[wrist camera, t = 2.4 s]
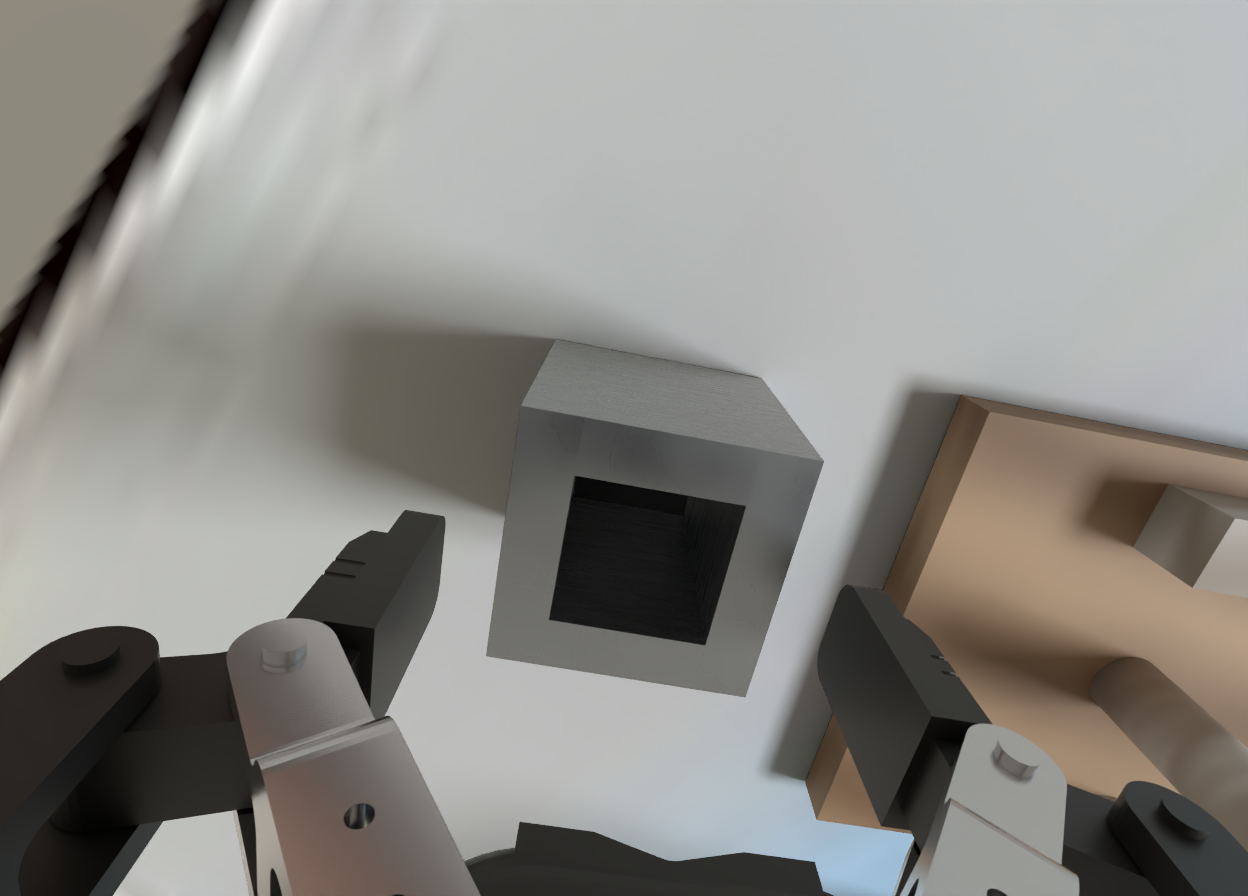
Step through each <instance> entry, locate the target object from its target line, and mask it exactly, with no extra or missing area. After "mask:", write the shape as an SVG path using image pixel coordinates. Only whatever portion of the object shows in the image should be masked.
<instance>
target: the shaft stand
mask: <svg viewBox="0 0 1248 896" xmlns="http://www.w3.org/2000/svg"><path fill="white" fill-rule="evenodd" d="M883 591H885V592H887V593H888V594H889V596H890V597H891V599H892V600H893V602H894V603H895V605H896V606H897V607H898V609H899V610H900V612H901V613H902V615H903V616H904V618H905V619H909V620H910V621H911V622H912V623H914V624H915V625H916V626H917V627H918V628H920V629H921V630H922V631H923V632H924V633H926V634H927V635H928V636H929V637H930V638H931V639H932V640H933V642H934V643H935V644H936V646H937V647H938V649H939V650H940V651H941V653H942V654H943V656H944V660H946V661H948V662H949V664H950V665H951V667H952V668H953V669H954V671H955V672H956V676H957V677H959V678H960V679H961V681H962V682H963V683H964V685H965V686H966V688H967V689H968V690H969V692H970V693H971V695H972V696H973V697H974V699H975V700H976V702H977V703H978V704H979V706H980V707H981V709H982V710H983V711H984V713H985V714H986V716H987V717H988V718H989V720H990V721H991V722H992V724H993V725H997V726H1000V727H1003V728H1006V729H1009V730H1011V731H1013V732H1015V733H1017V734H1019V735H1021V736H1023V737H1025V738H1026V739H1028V740H1030V741H1031V742H1032V743H1034V744H1035V745H1037V746H1038V747H1039V748H1041V749H1042V750H1043V751H1044V752H1045V753H1046V754H1048V755H1049V756H1050V757H1051V758H1052V759H1053V761H1054V762H1055V763H1056V764H1057V765H1058V767H1059V768H1060V769H1061V771H1062V773H1063V774H1064V776H1065V779H1066V782H1067V784H1069V785H1072V786H1074V787H1077V788H1079V789H1082V790H1085V791H1087V792H1090V793H1093V794H1095V795H1098V796H1100V797H1103V798H1106V799H1108V800H1111V801H1113V802H1115V801H1116V800H1117V798H1118V796H1119V795H1120V793H1121V792H1122V790H1123V788H1124V787H1125V785H1126V784H1128V783H1129V782H1132V781H1146V782H1150V783H1154V784H1157V785H1160V786H1163V787H1165V788H1168V789H1170V790H1172V791H1174V792H1176V793H1178V794H1180V795H1182V796H1184V797H1185V798H1187V799H1189V800H1190V801H1192V802H1194V803H1195V804H1196V805H1198V806H1199V807H1201V808H1202V809H1204V810H1205V811H1206V812H1208V813H1209V814H1210V815H1211V816H1213V817H1214V818H1215V819H1216V820H1217V821H1218V822H1220V823H1221V824H1222V825H1223V826H1224V827H1225V828H1226V829H1227V830H1228V831H1229V832H1230V833H1231V835H1232V836H1233V837H1234V838H1235V839H1236V840H1237V841H1238V842H1239V843H1240V844H1241V845H1242V847H1243V848H1244V849H1245V850H1246V851H1247V852H1248V450H1243V449H1238V448H1233V447H1228V446H1222V445H1217V444H1212V443H1207V442H1202V441H1197V440H1191V439H1186V438H1181V437H1176V436H1171V435H1166V434H1160V433H1155V432H1150V431H1145V430H1140V429H1134V428H1129V427H1124V426H1119V425H1114V424H1109V423H1103V422H1098V421H1093V420H1088V419H1083V418H1077V417H1072V416H1067V415H1062V414H1057V413H1052V412H1046V411H1041V410H1036V409H1031V408H1026V407H1020V406H1015V405H1010V404H1005V403H1000V402H995V401H989V400H984V399H979V398H974V397H969V396H964V395H961V397H960V400H959V402H958V405H957V407H956V410H955V412H954V415H953V417H952V420H951V422H950V425H949V427H948V430H947V432H946V435H945V437H944V440H943V442H942V444H941V447H940V449H939V452H938V454H937V457H936V459H935V462H934V464H933V467H932V469H931V472H930V474H929V477H928V479H927V482H926V484H925V487H924V489H923V492H922V494H921V497H920V499H919V502H918V504H917V507H916V509H915V511H914V514H913V516H912V519H911V521H910V524H909V526H908V529H907V531H906V534H905V536H904V539H903V541H902V544H901V546H900V549H899V551H898V554H897V556H896V559H895V561H894V564H893V566H892V569H891V571H890V574H889V576H888V578H887V581H886V583H885V586H884V588H883ZM805 783H806V786H807V789H808V793H809V796H810V799H811V803H812V806H813V809H814V813H815V816H816V819H817V820H822V821H828V822H835V823H842V824H849V825H855V826H862V827H869V828H876V829H882V830H889V831H896V832H903V833H910V834H912V832H911V830H903V829H896V828H889V827H882V826H881V825H880V823H879V820H878V818H877V816H876V813H875V811H874V808H873V806H872V804H871V801H870V799H869V796H868V794H867V792H866V789H865V787H864V784H863V782H862V780H861V777H860V775H859V772H858V770H857V768H856V765H855V763H854V760H853V758H852V756H851V753H850V751H849V748H848V746H847V744H846V741H845V739H844V736H843V734H842V732H841V729H840V727H839V724H838V722H837V720H836V717H835V715H834V712H833V715H832V717H831V720H830V722H829V725H828V727H827V730H826V732H825V735H824V737H823V740H822V742H821V745H820V747H819V750H818V752H817V755H816V757H815V760H814V762H813V765H812V767H811V770H810V772H809V775H808V777H807V779H806V782H805Z"/></svg>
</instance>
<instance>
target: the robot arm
mask: <svg viewBox="0 0 1248 896" xmlns="http://www.w3.org/2000/svg"><path fill="white" fill-rule="evenodd" d="M444 534H445V518H444V516H439V515H433V514H427V513H421V512H415V511H409V510H405V511H404V512H403V513H402V514H401V516H400V517H399V518H398V520H397V521H396V522H395V524H394V525H393V526H392V528H391V529H390V531H389V532H388V533H385V532H378V531H372V530H371V531H369V532H367V533H365V534H363V535H362V536H360V537H358V538H356V539H354V540H352V541H350V542H349V543H348V544H347V545H346V546H345V548H344V549H343V550H342V551H341V552H340V554H339V555H338V556H337V557H336V560H335V561H333V562H332V563H331V564H330V566H329V567H328V568H327V569H326V570H325V574H324V575H321V577H320V578H319V579H318V580H317V581H316V583H315V584H314V585H313V586H312V587H311V589H310V590H309V591H308V592H307V593H306V595H305V596H304V597H303V598H302V599H301V601H300V602H299V603H298V604H297V605H296V607H295V608H294V609H293V610H292V612H291V613H290V614H289V615H288V616H287V618H286V619H280V620H274V621H270V622H267V623H264V624H261V625H258V626H256V627H254V628H252V629H250V630H248V631H246V632H245V633H243V634H242V635H241V636H239V637H238V638H237V639H236V640H235V641H234V642H233V643H232V645H231V646H230V648H229V650H228V651H227V652H222V653H215V654H204V655H189V656H175V657H161V658H160V655H159V645H158V642H157V640H156V638H155V637H154V636H153V635H152V634H150V633H148V632H146V631H145V630H141V629H138V628H134V627H127V626H107V627H99V628H93V629H88V630H84V631H80V632H77V633H73V634H70V635H68V636H65V637H62V638H60V639H58V640H55V641H53V642H51V643H49V644H48V645H46V646H44V647H42V648H41V649H39V650H38V651H37V652H35V653H34V654H32V655H31V656H30V657H29V658H28V659H26V660H25V661H24V662H23V663H21V664H20V665H19V666H18V667H17V668H15V669H14V670H13V671H12V672H11V673H9V674H8V675H7V676H6V677H4V678H3V679H2V680H1V681H0V896H113V894H114V893H115V891H116V890H117V888H118V887H119V885H120V884H121V882H122V881H123V880H124V878H125V877H126V875H127V874H128V872H129V871H130V869H131V868H132V866H133V865H134V863H135V862H136V860H137V859H138V857H139V856H140V854H141V853H142V852H143V850H144V849H145V847H146V846H147V844H148V843H149V841H150V840H151V838H152V837H153V835H154V834H155V832H156V831H157V829H158V828H159V826H160V825H161V824H162V822H163V821H167V820H173V819H180V818H186V817H193V816H199V815H206V814H213V813H219V812H226V811H232V810H233V815H234V820H235V825H236V830H237V835H238V840H239V845H240V850H241V856H242V861H243V866H244V871H245V876H246V881H247V886H248V891H249V896H833V895H831V894H829V893H826V892H824V891H823V889H822V886H821V882H820V879H819V875H818V872H817V869H816V865H815V862H811V861H803V860H796V859H788V858H781V857H774V856H766V855H759V854H752V853H744V852H743V853H736V854H728V855H721V856H713V857H706V858H699V859H691V860H684V861H668V860H664V859H661V858H659V857H656V856H654V855H651V854H649V853H646V852H644V851H641V850H639V849H636V848H633V847H631V846H628V845H626V844H623V843H621V842H618V841H616V840H613V839H610V838H608V837H605V836H603V835H600V834H598V833H595V832H590V831H583V830H575V829H568V828H561V827H553V826H546V825H539V824H531V823H524V822H520V823H519V829H518V834H517V840H516V846H515V848H511V849H504V850H498V851H494V852H490V853H486V854H482V855H479V856H477V857H474V858H472V859H469V860H467V861H464V860H463V858H462V856H461V854H460V852H459V850H458V848H457V846H456V844H455V842H454V840H453V838H452V836H451V834H450V832H449V830H448V828H447V826H446V824H445V822H444V819H443V817H442V815H441V813H440V811H439V809H438V807H437V805H436V803H435V801H434V799H433V797H432V795H431V793H430V791H429V789H428V787H427V785H426V783H425V781H424V779H423V777H422V775H421V772H420V770H419V768H418V766H417V764H416V762H415V760H414V758H413V756H412V754H411V752H410V750H409V748H408V746H407V744H406V742H405V740H404V738H403V736H402V734H401V732H400V730H399V728H398V726H397V724H396V722H395V721H394V720H393V719H392V718H391V717H390V716H385V714H386V712H387V710H388V708H389V705H390V703H391V701H392V699H393V697H394V695H395V693H396V691H397V689H398V686H399V684H400V682H401V680H402V678H403V676H404V674H405V672H406V670H407V667H408V665H409V663H410V661H411V659H412V657H413V655H414V653H415V651H416V648H417V646H418V644H419V642H420V640H421V638H422V636H423V634H424V632H425V629H426V627H427V625H428V623H429V621H430V619H431V617H432V614H433V611H434V608H435V604H436V601H437V596H438V591H439V584H440V574H441V564H442V554H443V544H444ZM818 674H819V678H820V681H821V684H822V686H823V688H824V691H825V693H826V696H827V698H828V700H829V703H830V705H831V708H832V710H833V712H834V715H835V717H836V720H837V722H838V724H839V727H840V729H841V732H842V734H843V736H844V739H845V741H846V744H847V746H848V748H849V751H850V753H851V756H852V758H853V760H854V763H855V765H856V768H857V770H858V772H859V775H860V777H861V780H862V782H863V784H864V787H865V789H866V792H867V794H868V796H869V799H870V801H871V804H872V806H873V808H874V811H875V813H876V816H877V818H878V820H879V823H880V825H881V826H882V827H889V828H896V829H903V830H911V832H912V834H913V837H914V840H913V842H912V844H911V846H910V848H909V851H908V853H907V855H906V857H905V860H904V863H903V866H902V869H901V871H900V874H899V877H898V880H897V883H896V886H895V888H894V891H893V894H892V896H1248V852H1247V851H1246V850H1245V849H1244V848H1243V847H1242V845H1241V844H1240V843H1239V842H1238V841H1237V840H1236V839H1235V838H1234V837H1233V836H1232V835H1231V833H1230V832H1229V831H1228V830H1227V829H1226V828H1225V827H1224V826H1223V825H1222V824H1221V823H1220V822H1218V821H1217V820H1216V819H1215V818H1214V817H1213V816H1211V815H1210V814H1209V813H1208V812H1206V811H1205V810H1204V809H1202V808H1201V807H1199V806H1198V805H1196V804H1195V803H1194V802H1192V801H1190V800H1189V799H1187V798H1185V797H1184V796H1182V795H1180V794H1178V793H1176V792H1174V791H1172V790H1170V789H1168V788H1165V787H1163V786H1160V785H1157V784H1154V783H1150V782H1146V781H1132V782H1129V783H1128V784H1126V785H1125V787H1124V788H1123V790H1122V792H1121V793H1120V795H1119V796H1118V798H1117V800H1116V801H1115V802H1113V801H1111V800H1108V799H1106V798H1103V797H1100V796H1098V795H1095V794H1093V793H1090V792H1087V791H1085V790H1082V789H1079V788H1077V787H1074V786H1072V785H1069V784H1067V782H1066V779H1065V776H1064V774H1063V773H1062V771H1061V769H1060V768H1059V767H1058V765H1057V764H1056V763H1055V762H1054V761H1053V759H1052V758H1051V757H1050V756H1049V755H1048V754H1046V753H1045V752H1044V751H1043V750H1042V749H1041V748H1039V747H1038V746H1037V745H1035V744H1034V743H1032V742H1031V741H1030V740H1028V739H1026V738H1025V737H1023V736H1021V735H1019V734H1017V733H1015V732H1013V731H1011V730H1009V729H1006V728H1003V727H1000V726H997V725H993V724H992V722H991V721H990V720H989V718H988V717H987V716H986V714H985V713H984V711H983V710H982V709H981V707H980V706H979V704H978V703H977V702H976V700H975V699H974V697H973V696H972V695H971V693H970V692H969V690H968V689H967V688H966V686H965V685H964V683H963V682H962V681H961V679H960V678H959V677H957V676H956V672H955V671H954V669H953V668H952V667H951V665H950V664H949V662H948V661H946V660H944V656H943V654H942V653H941V651H940V650H939V649H938V647H937V646H936V644H935V643H934V642H933V640H932V639H931V638H930V637H929V636H928V635H927V634H926V633H924V632H923V631H922V630H921V629H920V628H918V627H917V626H916V625H915V624H914V623H912V622H911V621H910V620H909V619H905V618H904V616H903V615H902V613H901V612H900V610H899V609H898V607H897V606H896V605H895V603H894V602H893V600H892V599H891V597H890V596H889V594H888V593H887V592H885V591H883V590H877V589H871V588H865V587H859V586H853V585H846V586H844V587H843V588H842V590H841V591H840V593H839V595H838V598H837V601H836V603H835V606H834V609H833V612H832V615H831V617H830V620H829V623H828V626H827V628H826V631H825V634H824V637H823V639H822V642H821V645H820V648H819V652H818ZM384 716H385V717H384Z"/></svg>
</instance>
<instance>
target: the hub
mask: <svg viewBox="0 0 1248 896" xmlns="http://www.w3.org/2000/svg"><path fill="white" fill-rule="evenodd" d="M823 463H824V461H823V459H822V458H821V457H820V455H819V454H818V453H817V451H816V450H815V449H814V447H813V446H812V445H811V443H810V442H809V441H808V439H807V438H806V437H805V435H804V434H803V433H802V431H801V430H800V429H799V427H798V426H797V425H796V423H795V422H794V421H793V419H792V418H791V417H790V415H789V414H788V413H787V411H786V410H785V409H784V407H783V406H782V404H781V403H780V402H779V400H778V399H777V398H776V396H775V395H774V394H773V392H772V391H771V390H770V388H769V387H768V386H767V384H766V383H765V382H764V380H763V379H762V378H757V377H752V376H746V375H741V374H736V373H731V372H725V371H720V370H715V369H710V368H704V367H699V366H694V365H689V364H683V363H678V362H673V361H668V360H663V359H657V358H652V357H647V356H642V355H636V354H631V353H626V352H621V351H615V350H610V349H605V348H600V347H594V346H589V345H584V344H579V343H573V342H568V341H563V340H558V339H556V340H555V342H554V344H553V346H552V348H551V350H550V351H549V353H548V355H547V357H546V359H545V361H544V363H543V365H542V366H541V368H540V370H539V372H538V374H537V376H536V378H535V379H534V381H533V383H532V385H531V387H530V389H529V391H528V393H527V394H526V396H525V398H524V400H523V402H522V404H521V406H520V413H519V421H518V428H517V435H516V442H515V450H514V457H513V464H512V472H511V479H510V486H509V493H508V501H507V508H506V515H505V522H504V530H503V537H502V544H501V551H500V559H499V566H498V573H497V581H496V588H495V595H494V602H493V610H492V617H491V624H490V631H489V639H488V646H487V653H486V656H489V657H495V658H501V659H508V660H514V661H520V662H526V663H533V664H539V665H545V666H552V667H558V668H564V669H571V670H577V671H583V672H589V673H596V674H602V675H608V676H615V677H621V678H627V679H633V680H640V681H646V682H652V683H659V684H665V685H671V686H678V687H684V688H690V689H696V690H703V691H709V692H715V693H722V694H728V695H734V696H740V697H746V694H747V691H748V688H749V685H750V682H751V679H752V676H753V673H754V670H755V667H756V664H757V661H758V658H759V655H760V652H761V649H762V646H763V643H764V640H765V637H766V634H767V631H768V628H769V625H770V622H771V619H772V616H773V613H774V610H775V607H776V604H777V601H778V598H779V595H780V592H781V589H782V586H783V583H784V580H785V577H786V574H787V571H788V568H789V565H790V562H791V559H792V556H793V553H794V550H795V547H796V544H797V541H798V538H799V535H800V532H801V529H802V526H803V523H804V520H805V517H806V514H807V511H808V508H809V505H810V502H811V499H812V496H813V493H814V490H815V487H816V484H817V481H818V478H819V475H820V472H821V469H822V466H823ZM576 476H580V477H586V478H591V479H597V480H603V481H608V482H614V483H619V484H625V485H631V486H636V487H642V488H648V489H653V490H659V491H664V492H670V493H676V494H681V495H687V496H688V499H687V503H686V507H685V511H684V515H683V516H682V515H676V514H670V513H665V512H659V511H653V510H648V509H642V508H636V507H631V506H625V505H619V504H614V503H608V502H602V501H596V500H591V499H585V498H579V497H574V496H573V492H574V486H575V481H576Z"/></svg>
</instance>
